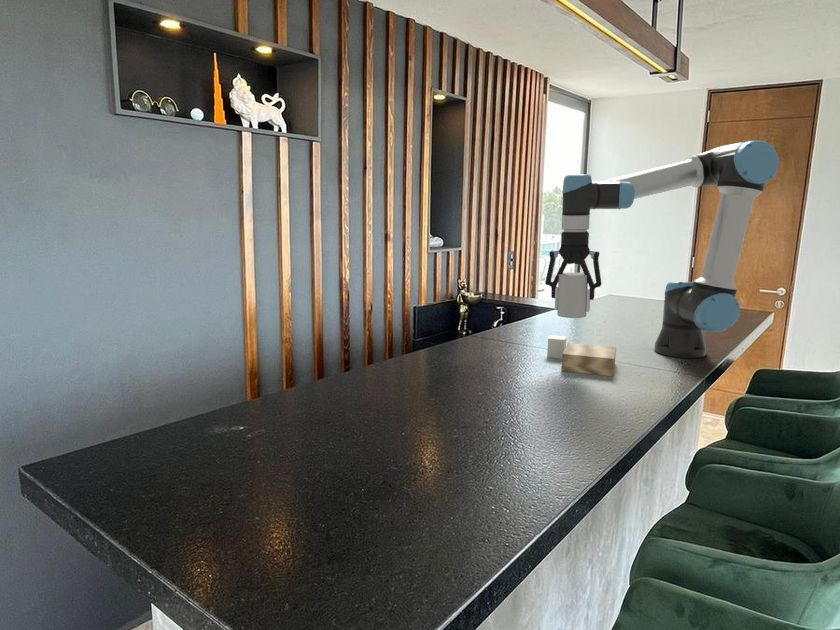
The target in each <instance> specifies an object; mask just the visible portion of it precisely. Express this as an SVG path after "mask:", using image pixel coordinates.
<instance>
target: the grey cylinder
mask: <svg viewBox="0 0 840 630" xmlns="http://www.w3.org/2000/svg"><path fill="white" fill-rule="evenodd" d="M557 287H558V310H556V312H557V316H558V317H561V318H566V319H581V318H586V317H587V312H586V301H587V288H589V284H588V282H587V275H584V272H575V271H573V272H571V271H570V272H568V271H567V272H563V273H562V274H559V281H558V284H557Z"/></svg>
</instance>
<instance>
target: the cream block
mask: <svg viewBox="0 0 840 630" xmlns="http://www.w3.org/2000/svg"><path fill="white" fill-rule="evenodd" d="M566 346H567V336H566V335H565V336H563V335H554V334H553V335H552V334H550V335H549V336H548V338H547V349H546V350H547V351H546V352H547V353H546V357H547V358H555V359H561V360H562V353H563V352H564V350H565V348H566Z"/></svg>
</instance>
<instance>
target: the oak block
mask: <svg viewBox="0 0 840 630" xmlns="http://www.w3.org/2000/svg"><path fill="white" fill-rule="evenodd" d="M616 355H617V347H616V346H606V345H605V346H604V345H593V344H584V343H583V344H582V343H581V344H580V343H573V342H572V343H571V342H568V343H566V348H565V350H564V352H563V353H562V359H561V372H566V373H567V372H568V373H579V374H588V375H598V376H606V377H607V376H608V377H614V374H615V372H614V371H615V365H616Z"/></svg>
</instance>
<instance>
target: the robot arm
mask: <svg viewBox="0 0 840 630" xmlns="http://www.w3.org/2000/svg"><path fill="white" fill-rule="evenodd" d="M779 162H780V159H779V155H778V152H777V151H776V150H775V148H774V147H773V145H772V144H770V143H769V142H767V141H764V140H750V139H748V140H744V141H742V142H735V143H730V144H729V143H728V144H724V145H721V146H718V147H715V148H713V149H710V150H708V151H704V152H701V153H698V154H694V155H690V156H689V157H688V158H687V160H684V161H679V162H675V163H672V164H667V165H666V164H665V165H662V166H659V167H655V168H650V169H647V170H643V171H639V172H634V173H630V174H627V175H626V174H625V175H622V176H618V177H614V178H609V179H605V180H602V181H593V180H592V175H590V174H583V173H582V174H581V173H580V174H579V173H578V174H568V175H566V176H564V177H563V183H562V191H561V192H562V208H561V209H562V210H561V211H562V214H561V230H562V231H561V235H560V236H561V237H560V248H559V249H558V250H551V251H549V252H548V253H549V262H548V268H547V272H546V278H545V283H544V284H545V286H546V285H547V286H549V287H551V293H550V294H551V296H550V297H551V299H554V311H557V310H558V281H559V274H562V273H564V272H565V270H566V268H567V265H572V264H574V265H580V267H581V269H582V271H583V272H582V273H584V275H587V282H588V288H587V301H586V313H589V312H590V310H591V309H590V308H591V301H594V299H595V290H596V288H600V287H601V286H602V283H603V282H602V278H601V277H602V276H601V270H600V264H599V258H600V252H599V251H597V250H596V251H593V250H590V248H589V244H590V242H589V239H590V238H589V237H590V232H589V229H590V216H591V215H590V214H591V213H590V212H591V210H621V209H622V210H624V209H629V208H631V207H632V206H633V203H634V202H635V201H634V200H635V199H640V198H644V197H648V196H653V195H657V194H662V193H665V192H669V191H672V190H673V191H674V190H677V189H678V190H679V189H682V188H686V187H690V186H692V187H693V188H700V187H705V186H716V189H717V190H718V192H719V193H720V197H719V201H718V206H717V209H716V215H715V218H714V221H713V225H712V228H711V229H712V230H711V234H710V238H709V242H708V244H707V245H708V246H707V250H706V255H705V258H704V262H703V265H702V270H701V273H700V276H699V277H698V278H696V279H694V280H693V281H669V282H667V283H666V286H665V290H664V303H663V315H662V326H661V329H660V331H659V333H658V336H657V338H656V340H655V342H654V348H653V350H654V351H655V352H656V353H658V354H661V355H664V356H668V357H673V358H682V359H683V358H684V359H696V358H697V359H698V358H703V357H705V356H706V355H707V354H706V353H707V347H706V341H705V338H704V333H703V331H706V332H712V333H721V332H723V331H727V330H728V329H729V328H731V327H732V326H733V325H735V323H736V322H737V320H738V318H739V317H740V313H741V305H740V303H739V300H738V299H737V298H736V295H737V291H738V288H737V286H736V285H735V283H734V279H735V276H736V272H737V268H738V264H739V260H740V256H741V254H742V253H741V252H742V248H743V244H744V242H745V241H744V240H745V238H746V237H745V236H746V234H747V229H748V226H749V222H750V219H751V213H752V210H753V206H754V202H755V199H756V198H757V197H759V196H760V195H762V194H763V192H764V188H765V184H766V183H767V182H769V181H770V180H771V179H773V178H774V177H775V175H776V173H777V171H778V169H779V165H780V163H779ZM559 255H560V257H561V258H562V259H563V261H562V263H561V265H560V267H559V269H558V271H557V273H556V275H555V276H554V279H553V278H552V277H553V273H554V269H555V263H556V259H557V258H558V256H559ZM589 256H590V258H591V259H592V260H593V261H592V262H593V263H592V264H593V270H594V277H595V282H594V280H593V278H592V275H591V272H590V270H589V267H588V265H587V262H586V259H587V257H589ZM552 279H553V281H552Z"/></svg>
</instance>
